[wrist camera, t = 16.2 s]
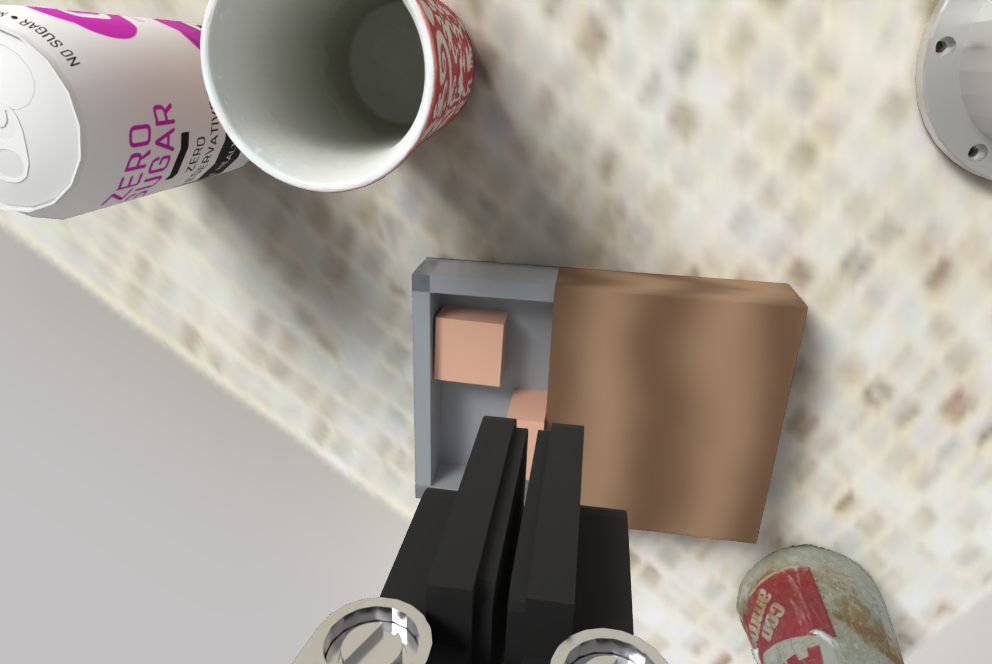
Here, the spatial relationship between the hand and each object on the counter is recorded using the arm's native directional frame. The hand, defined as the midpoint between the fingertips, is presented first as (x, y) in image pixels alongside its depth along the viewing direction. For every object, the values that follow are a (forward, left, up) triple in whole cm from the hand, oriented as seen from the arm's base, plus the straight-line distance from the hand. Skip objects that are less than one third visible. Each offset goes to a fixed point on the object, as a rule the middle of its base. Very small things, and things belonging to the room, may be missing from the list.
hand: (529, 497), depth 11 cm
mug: (+10, -8, -29) cm, 32 cm away
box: (+5, +12, -29) cm, 32 cm away
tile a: (+1, +14, -26) cm, 30 cm away
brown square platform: (-6, +12, -29) cm, 32 cm away
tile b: (+6, +9, -26) cm, 29 cm away
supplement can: (+22, -4, -29) cm, 37 cm away
